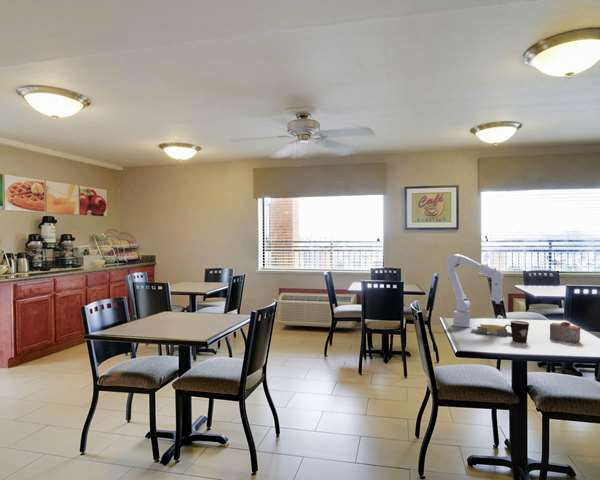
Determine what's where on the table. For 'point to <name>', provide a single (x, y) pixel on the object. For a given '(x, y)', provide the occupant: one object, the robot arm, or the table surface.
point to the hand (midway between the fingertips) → (496, 314)
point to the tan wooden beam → (492, 327)
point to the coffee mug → (518, 331)
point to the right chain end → (503, 333)
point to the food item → (565, 332)
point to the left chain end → (479, 330)
